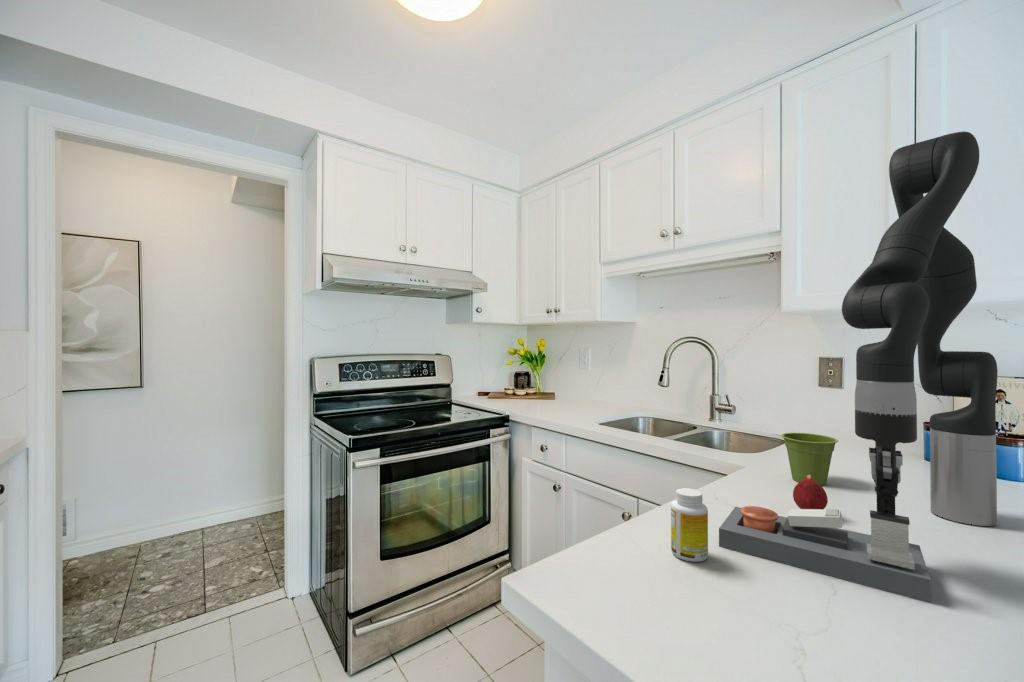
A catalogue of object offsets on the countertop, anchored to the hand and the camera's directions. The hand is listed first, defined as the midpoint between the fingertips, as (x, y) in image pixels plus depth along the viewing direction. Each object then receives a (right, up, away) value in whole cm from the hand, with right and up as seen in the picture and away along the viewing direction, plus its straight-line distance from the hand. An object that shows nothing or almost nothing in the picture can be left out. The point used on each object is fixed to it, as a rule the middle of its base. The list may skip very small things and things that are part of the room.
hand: (885, 517), depth 69 cm
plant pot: (+16, -8, +41) cm, 44 cm away
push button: (-17, -6, +6) cm, 19 cm away
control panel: (-10, -7, +1) cm, 12 cm away
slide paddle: (-6, -3, -7) cm, 9 cm away
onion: (0, -7, +18) cm, 20 cm away
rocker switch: (-10, -1, +2) cm, 10 cm away
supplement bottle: (-31, -7, +1) cm, 32 cm away
